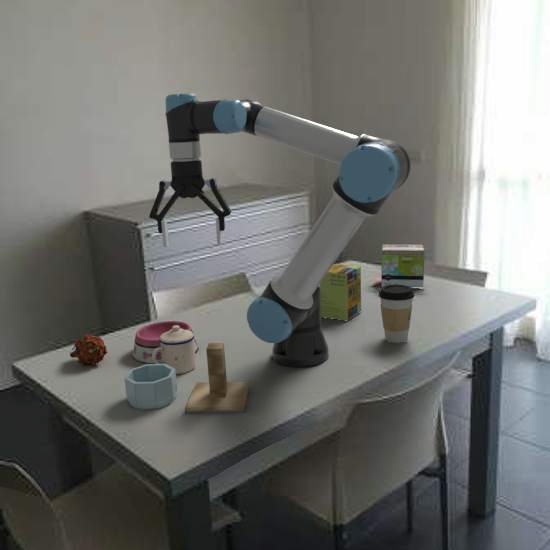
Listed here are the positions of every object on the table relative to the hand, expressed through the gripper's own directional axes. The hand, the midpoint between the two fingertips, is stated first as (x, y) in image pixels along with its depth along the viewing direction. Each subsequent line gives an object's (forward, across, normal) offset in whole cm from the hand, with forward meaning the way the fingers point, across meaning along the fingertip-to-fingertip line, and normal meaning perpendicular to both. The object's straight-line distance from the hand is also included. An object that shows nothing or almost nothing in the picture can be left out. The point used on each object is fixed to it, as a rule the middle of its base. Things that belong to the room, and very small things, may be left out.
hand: (192, 244), depth 156 cm
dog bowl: (+33, +12, -10) cm, 37 cm away
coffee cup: (+33, -53, -15) cm, 64 cm away
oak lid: (+32, -7, +21) cm, 39 cm away
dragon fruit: (+33, +32, -4) cm, 46 cm away
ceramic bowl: (+33, +9, +20) cm, 39 cm away
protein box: (+33, -36, -39) cm, 63 cm away
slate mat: (+33, -7, +21) cm, 39 cm away
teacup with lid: (+33, +7, +3) cm, 34 cm away
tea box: (+33, -63, -68) cm, 99 cm away
